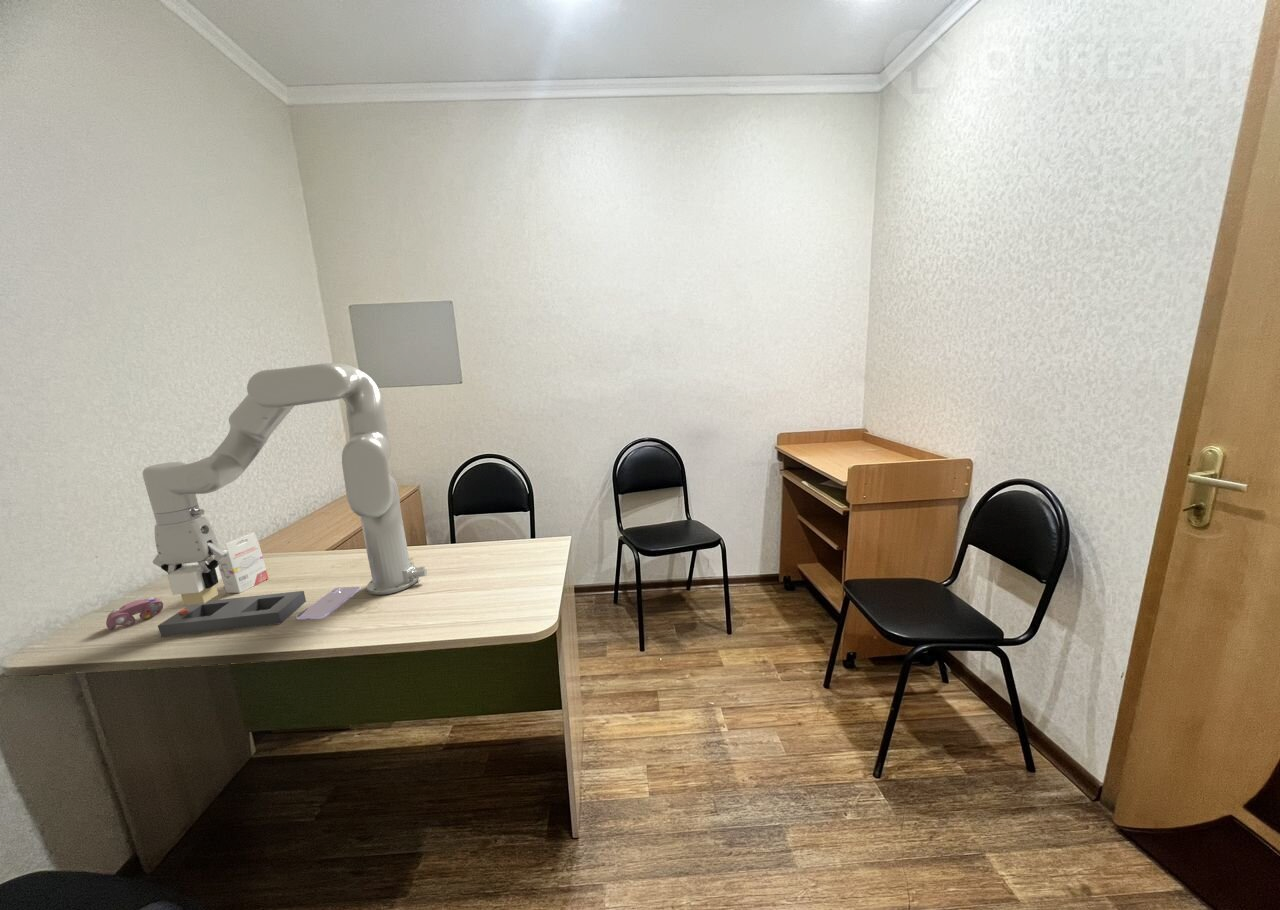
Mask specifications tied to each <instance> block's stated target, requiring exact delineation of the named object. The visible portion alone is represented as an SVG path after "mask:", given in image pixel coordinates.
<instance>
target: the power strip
mask: <svg viewBox="0 0 1280 910" xmlns="http://www.w3.org/2000/svg"><path fill="white" fill-rule="evenodd" d="M306 602H307V600H306V595H305V591H304V590H299V591H289V592H280V593H271V594H262V595H261V594H258V595H251V596H240V597H233V598H232V597H230V598H223V599H216V600H212V599H211V600H209V601H207V602H206V603H203V604H193V605H186V607H184V608H183V609H181V610H180V611H178V612H176V613H175V614H174V615H172V616H171V617H169V618H167V619H166V620H164V621H163V622H161V623H160V624H157V629H158V632H159V634H160V638H166V637H174V636H183V635H184V636H185V635H192V634H202V633H211V632H212V633H213V632H220V631H229V630H237V629H238V630H239V629H247V628H256V627H263V626H271V625H272V626H273V625H282V624H283V622H285V621H286V620H287V619H288V618H289V617H291V615H293V614H294V613H295V612H296V611H297V610H298V609H299V608H301V606H303V605H304V604H305V603H306Z"/></svg>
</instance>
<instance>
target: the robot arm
mask: <svg viewBox="0 0 1280 910" xmlns="http://www.w3.org/2000/svg"><path fill="white" fill-rule="evenodd" d="M246 390H247V391H246V392H247V395H246V396H245V397H244V398H243V399H242V401H241V402H240V403H239V404H238V406H237V407H235V409H234V410H233V411H232V412H231V414H230V416H229V418H228V422H229V426H230V427H229V431H228V433H227V435H226V436H225V438H224V439H223V441H221V443H220V444H219V446H218V447H217V448H216V449H215V450H214V451H213V453H211V455H210V456H207V457H205V458H203V459H200V460H196V461H195V462H192V463H185V462H182V461H173V462H163V463H156V464H153V465H149V466H146V467H145V468H144V469H143V470H142V478H143V482H144V486H145V488H146V491H147V496H148V500H149V502H150V506H151V509H152V510H151V511H152V513H153V517H154V520H155V525H154V541H155V547H156V551H157V554H156V556H155V558H154V559H153V560H152V564H153V565H155V566H157V567H159V568H161V570H163V571H165V572H166V573H167V575H168V574H170V573H172V572H174V571H176V570H178V569H179V568H181V567H183V566H185V565H186V564H189V563H195V562H197V563H198V564H199V565H200V567H201V568H202V570H203V571H204V573H202V576H203V580H204V584H205V587H206V589H207V588H211V587H212V586H214V585H216V586H217V585H218V583H219V580H218V577H217V574H216V570H215V568H217V567H219V566H218V564H219V563H220V562H221V560H222V559H223V558H224V557H225V556H226V553H225V552H224V551H223V549H221V548H220V545H219V543H218V542H219V541H218V540H217V537H216V534H215V532H214V529H213V528H212V526H211V523H210V522H209V520H208V518H207V517H206V516H203V515H204V514H205V509H203V508H200V506H199V502H198V499H197V495H203V494H204V495H205V494H209V493H214V492H216V491H218V490H220V489H222V488H224V487H225V486H228V485H229V484H231V483H233V482H234V481H236V480H237V479H239V477H240V476H242V474H243V473H244V472H245V471H246V469H247V468H249V466H250V465H251V463H252V462H253V461H254V460H255V458H256V457H257V456H258V455H259V453H260V452H261V451H262V449H263V447H264V446H265V445H266V443H267V442H268V440H269V438H270V437H271V435H272V434H273V432H275V430H276V429H277V428H278V426H279V425H280V424H281V423H282V422H283V421H284V419H285V418H286V417H287V416H288V414H289V413H290V412H291V411H292V410H293V409H294V407H295V406H303V405H308V404H309V405H310V404H317V403H323V402H330V401H331V402H333V401H336V400H340V399H343V401H344V405H345V409H346V410H345V411H346V422H347V425H348V426H347V427H348V433H349V434H348V435H349V436H348V437H349V440H348V441H347V442H346V444H345V445H344V446H343V448H342V452H341V465H342V472H343V481H344V487H345V494H346V499H347V504H348V506H349V508H350V509H351V511H352V512H353V513H354V514H355V515H357V516H359V517H360V523H361V528H362V534H363V540H364V544H365V549H366V553H367V555H366V556H367V559H368V564H369V569H370V570H369V571H370V573H371V580H370V581H369V582H368V583H367V586H366V590H367V592H368V593H369V594H372V595H377V596H379V595H381V596H382V595H389V594H394V593H398V592H401V591H403V590H407V589H408V588H410V587H412V586H413V585H415V584H416V583H417V582H418V580H420V579H419V578H420V577H421V578H422V577H427V574H428V570H427V568H426V566H424V565H423V566H418V567H416V566H415V562H414V561H410V557H409V551H408V549H409V548H408V544H407V539H406V533H405V528H404V521H403V516H402V514H403V513H402V508H401V499H400V491H399V486H398V483H397V481H396V479H395V478H394V477H393V476H392V475H391V474H390V471H389V463H388V462H389V459H390V457H391V452H392V449H391V448H392V447H391V443H390V438H389V431H388V423H387V417H386V413H385V406H384V405H385V404H384V401H383V399H384V398H383V395H382V393H381V390H380V388H379V387H378V385H377V383H376V381H374V380H373V378H372V377H371V376H370V375H368V374H367V373H366V372H364V371H363V370H361V369H359V368H357V367H354V366H352V365H349V364H346V363H341V362H325V363H324V362H323V363H317V364H309V365H302V366H301V365H300V366H294V367H293V366H292V367H284V368H271V369H264V370H260V371H258V372H256V373H254V374H253V375H252V376H250V378H249V379H248V383H247V386H246ZM213 556H214V558H213ZM205 561H207V562H208V564H209V565H207V563H206V562H205Z"/></svg>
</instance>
